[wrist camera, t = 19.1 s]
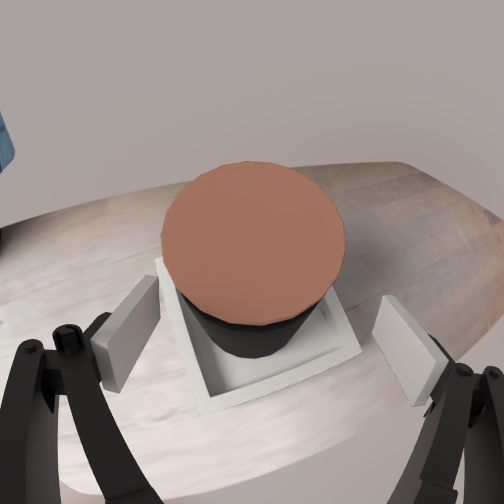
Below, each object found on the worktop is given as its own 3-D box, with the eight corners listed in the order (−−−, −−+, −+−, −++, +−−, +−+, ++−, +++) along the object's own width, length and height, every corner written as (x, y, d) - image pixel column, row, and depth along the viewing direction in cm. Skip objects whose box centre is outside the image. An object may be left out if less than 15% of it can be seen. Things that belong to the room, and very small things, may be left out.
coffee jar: (236, 254, 35) (228, 140, 19) (314, 298, 33) (370, 206, 17) (185, 327, 31) (123, 255, 15) (267, 378, 29) (291, 363, 13)
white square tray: (166, 279, 38) (154, 258, 32) (289, 241, 41) (297, 216, 36) (207, 410, 30) (200, 415, 25) (342, 359, 34) (362, 352, 28)
